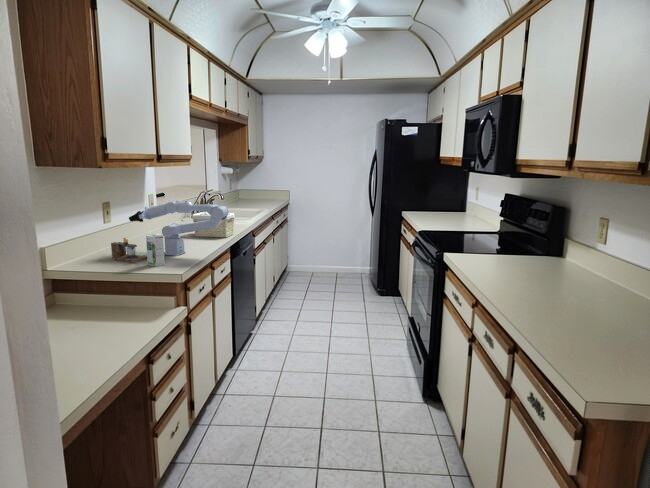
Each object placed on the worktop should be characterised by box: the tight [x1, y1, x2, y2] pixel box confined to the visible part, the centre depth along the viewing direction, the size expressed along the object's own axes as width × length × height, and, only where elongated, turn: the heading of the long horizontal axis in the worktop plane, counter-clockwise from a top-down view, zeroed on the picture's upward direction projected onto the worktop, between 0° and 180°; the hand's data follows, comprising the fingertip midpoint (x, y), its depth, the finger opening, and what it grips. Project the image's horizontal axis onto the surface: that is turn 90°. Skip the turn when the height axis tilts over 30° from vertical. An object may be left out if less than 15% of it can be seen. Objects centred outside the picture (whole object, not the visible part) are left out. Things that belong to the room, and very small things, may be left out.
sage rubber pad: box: [126, 250, 147, 256], centre depth 219 cm, size 9×8×1 cm
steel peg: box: [126, 247, 137, 259], centre depth 207 cm, size 4×4×6 cm
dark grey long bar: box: [110, 237, 138, 248], centre depth 208 cm, size 14×2×4 cm, turn 69°
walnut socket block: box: [110, 241, 147, 264], centre depth 208 cm, size 16×10×8 cm, turn 70°
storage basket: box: [191, 211, 236, 238], centre depth 275 cm, size 24×16×15 cm
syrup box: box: [145, 233, 165, 267], centre depth 198 cm, size 6×6×14 cm
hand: (133, 217), depth 220 cm, fingers open, 7 cm apart
